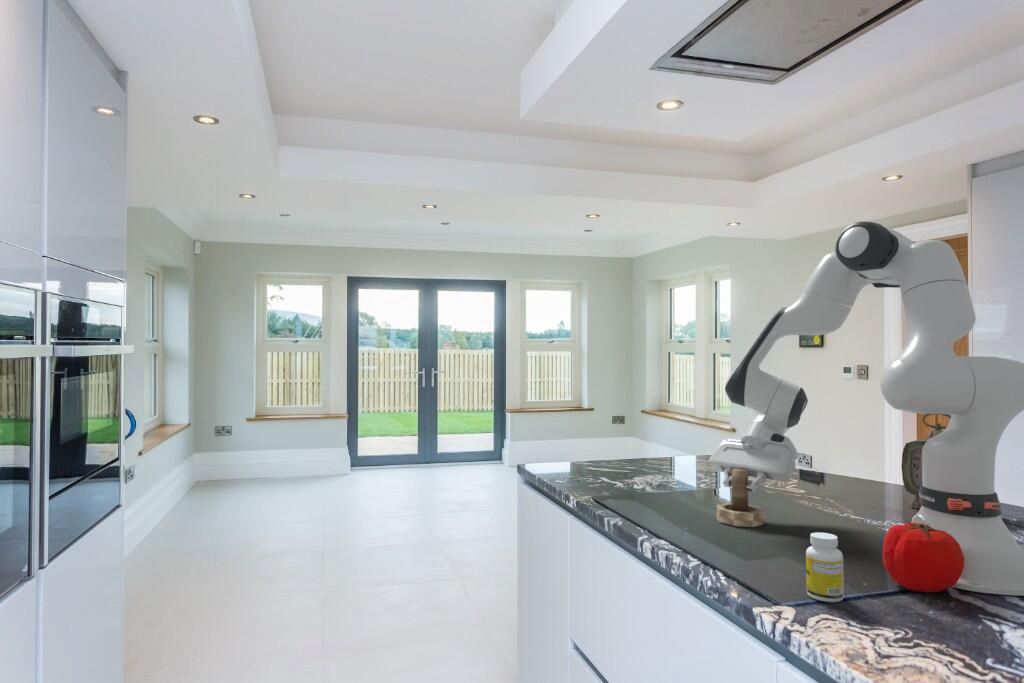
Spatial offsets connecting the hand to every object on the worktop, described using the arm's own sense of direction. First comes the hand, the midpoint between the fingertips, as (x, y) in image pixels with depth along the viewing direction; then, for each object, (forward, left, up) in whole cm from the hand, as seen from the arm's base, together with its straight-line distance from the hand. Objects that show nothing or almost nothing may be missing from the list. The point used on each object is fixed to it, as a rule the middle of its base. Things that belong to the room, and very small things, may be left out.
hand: (738, 487), depth 149 cm
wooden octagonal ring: (0, 0, -8) cm, 8 cm away
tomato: (-40, -23, -8) cm, 47 cm away
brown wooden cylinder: (0, 0, -8) cm, 8 cm away
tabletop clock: (+23, -52, -8) cm, 58 cm away
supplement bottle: (-47, -6, -8) cm, 48 cm away
